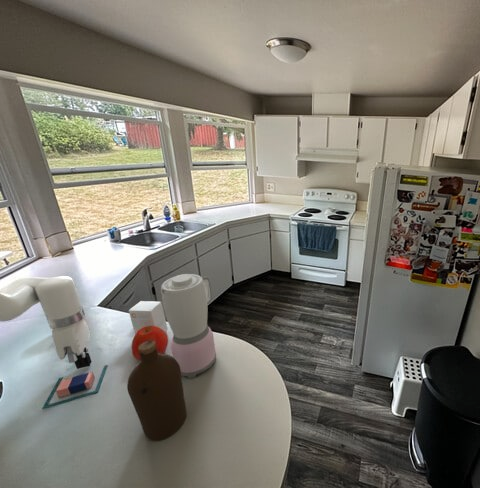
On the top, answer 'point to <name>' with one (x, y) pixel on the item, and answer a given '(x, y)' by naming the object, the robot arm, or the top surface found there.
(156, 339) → the apple
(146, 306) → the small box
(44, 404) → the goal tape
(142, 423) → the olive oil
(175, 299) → the blender
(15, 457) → the top surface
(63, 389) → the eraser
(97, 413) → the top surface
